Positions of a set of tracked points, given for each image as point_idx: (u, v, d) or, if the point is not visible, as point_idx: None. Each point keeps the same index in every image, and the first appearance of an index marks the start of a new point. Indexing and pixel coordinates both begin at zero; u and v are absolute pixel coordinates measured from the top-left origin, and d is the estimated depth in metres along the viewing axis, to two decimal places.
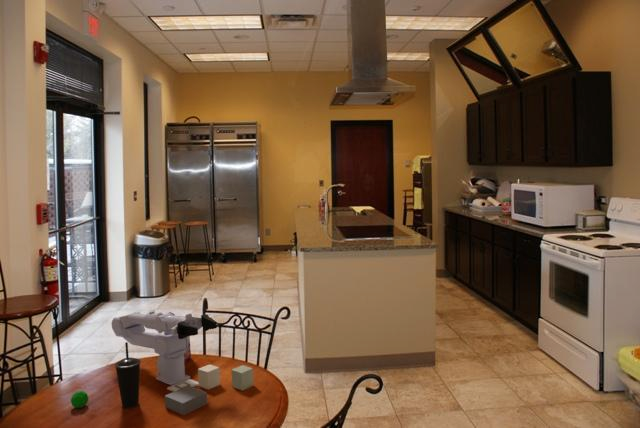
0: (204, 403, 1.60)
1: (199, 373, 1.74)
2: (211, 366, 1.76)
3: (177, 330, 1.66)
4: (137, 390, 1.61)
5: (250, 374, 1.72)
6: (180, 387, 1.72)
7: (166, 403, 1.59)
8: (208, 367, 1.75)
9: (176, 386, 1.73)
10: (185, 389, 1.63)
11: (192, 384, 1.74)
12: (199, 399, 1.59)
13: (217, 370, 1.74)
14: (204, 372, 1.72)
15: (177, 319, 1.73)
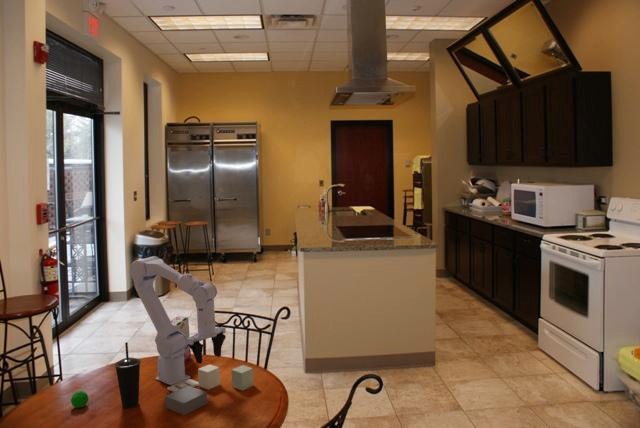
0: (204, 403, 1.60)
1: (199, 373, 1.74)
2: (211, 366, 1.76)
3: (192, 344, 1.69)
4: (137, 390, 1.61)
5: (250, 374, 1.72)
6: (180, 387, 1.72)
7: (166, 403, 1.59)
8: (208, 367, 1.75)
9: (176, 386, 1.73)
10: (185, 389, 1.63)
11: (192, 384, 1.74)
12: (200, 399, 1.59)
13: (217, 370, 1.74)
14: (204, 372, 1.72)
15: (206, 324, 1.70)
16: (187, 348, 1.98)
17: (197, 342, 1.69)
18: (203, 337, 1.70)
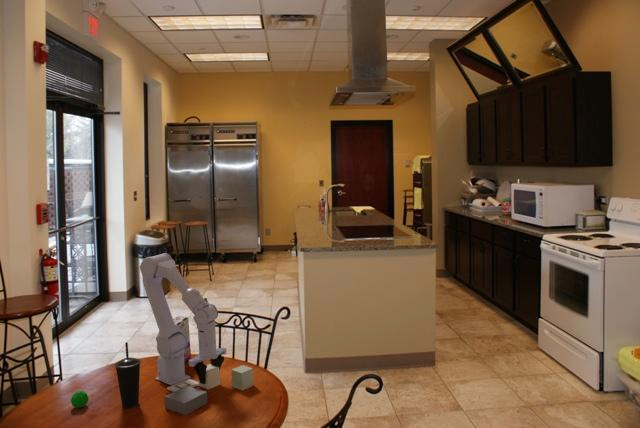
0: (204, 403, 1.61)
1: None
2: (211, 366, 1.76)
3: (196, 365, 1.70)
4: (137, 390, 1.61)
5: (250, 374, 1.72)
6: (180, 387, 1.72)
7: (166, 403, 1.59)
8: (208, 367, 1.75)
9: (176, 386, 1.73)
10: (184, 389, 1.63)
11: (192, 384, 1.74)
12: (200, 398, 1.59)
13: (217, 370, 1.74)
14: None
15: (207, 346, 1.71)
16: (187, 348, 1.98)
17: (198, 364, 1.70)
18: (204, 359, 1.70)
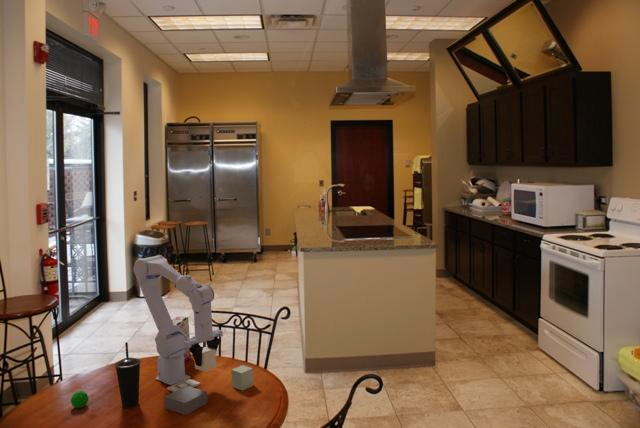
0: (204, 402, 1.61)
1: None
2: (207, 348, 1.73)
3: (192, 347, 1.67)
4: (137, 390, 1.61)
5: (250, 374, 1.72)
6: (180, 387, 1.72)
7: (166, 404, 1.58)
8: (204, 349, 1.72)
9: (176, 386, 1.73)
10: (184, 389, 1.63)
11: (192, 384, 1.74)
12: (200, 398, 1.59)
13: (213, 352, 1.72)
14: None
15: (203, 327, 1.68)
16: (187, 348, 1.98)
17: (194, 345, 1.67)
18: (200, 340, 1.68)
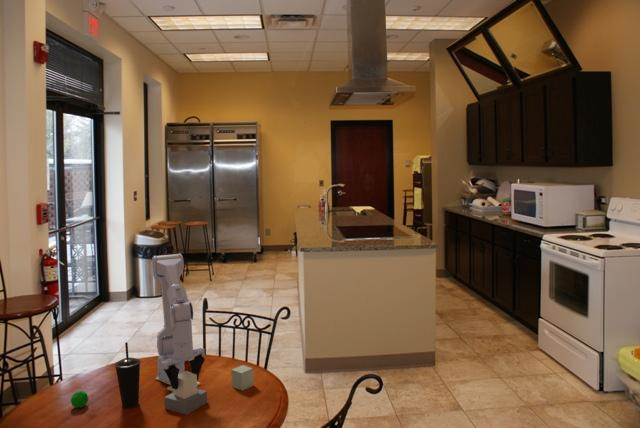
0: (204, 402, 1.61)
1: None
2: (187, 373, 1.61)
3: (167, 369, 1.54)
4: (137, 390, 1.61)
5: (250, 374, 1.72)
6: None
7: (166, 404, 1.58)
8: (184, 374, 1.60)
9: None
10: None
11: None
12: (200, 398, 1.59)
13: (194, 377, 1.59)
14: (180, 380, 1.57)
15: (183, 347, 1.56)
16: None
17: (172, 366, 1.55)
18: (179, 361, 1.55)
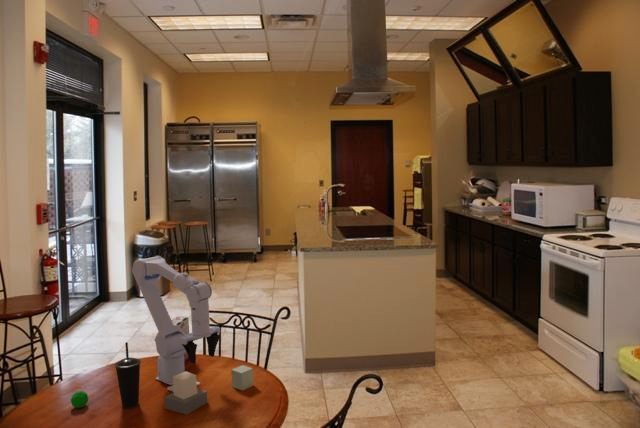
0: (204, 402, 1.61)
1: (174, 381, 1.59)
2: (187, 374, 1.60)
3: (186, 344, 1.66)
4: (137, 390, 1.61)
5: (250, 374, 1.72)
6: None
7: (166, 404, 1.58)
8: (183, 375, 1.60)
9: None
10: None
11: None
12: (200, 398, 1.59)
13: (194, 378, 1.59)
14: (179, 380, 1.57)
15: (200, 324, 1.68)
16: None
17: (191, 342, 1.67)
18: (197, 337, 1.67)
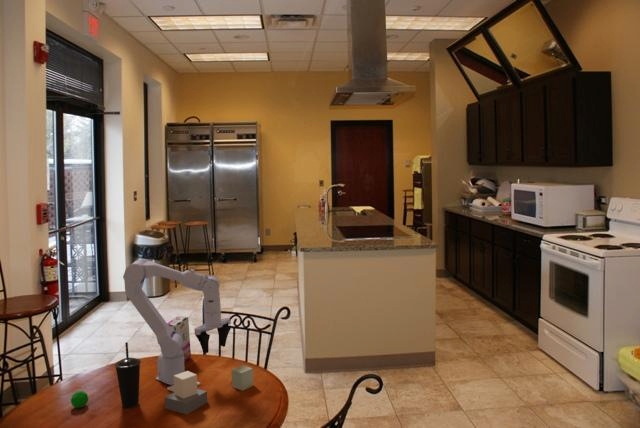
0: (205, 402, 1.61)
1: (175, 380, 1.59)
2: (188, 373, 1.61)
3: None
4: (137, 390, 1.61)
5: (250, 374, 1.72)
6: None
7: (166, 404, 1.58)
8: (184, 374, 1.60)
9: None
10: None
11: None
12: (200, 398, 1.59)
13: (194, 377, 1.59)
14: (179, 379, 1.57)
15: (213, 315, 1.77)
16: (187, 348, 1.98)
17: (204, 332, 1.76)
18: (209, 327, 1.77)
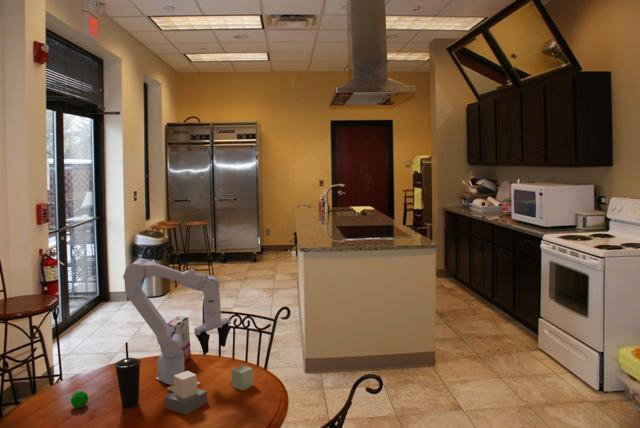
0: (204, 402, 1.61)
1: (175, 380, 1.59)
2: (188, 373, 1.61)
3: None
4: (137, 390, 1.61)
5: (250, 374, 1.72)
6: None
7: (166, 404, 1.58)
8: (184, 374, 1.60)
9: None
10: None
11: None
12: (200, 398, 1.59)
13: (194, 378, 1.59)
14: (179, 379, 1.57)
15: (213, 315, 1.77)
16: (187, 348, 1.98)
17: (204, 332, 1.76)
18: (209, 327, 1.77)
